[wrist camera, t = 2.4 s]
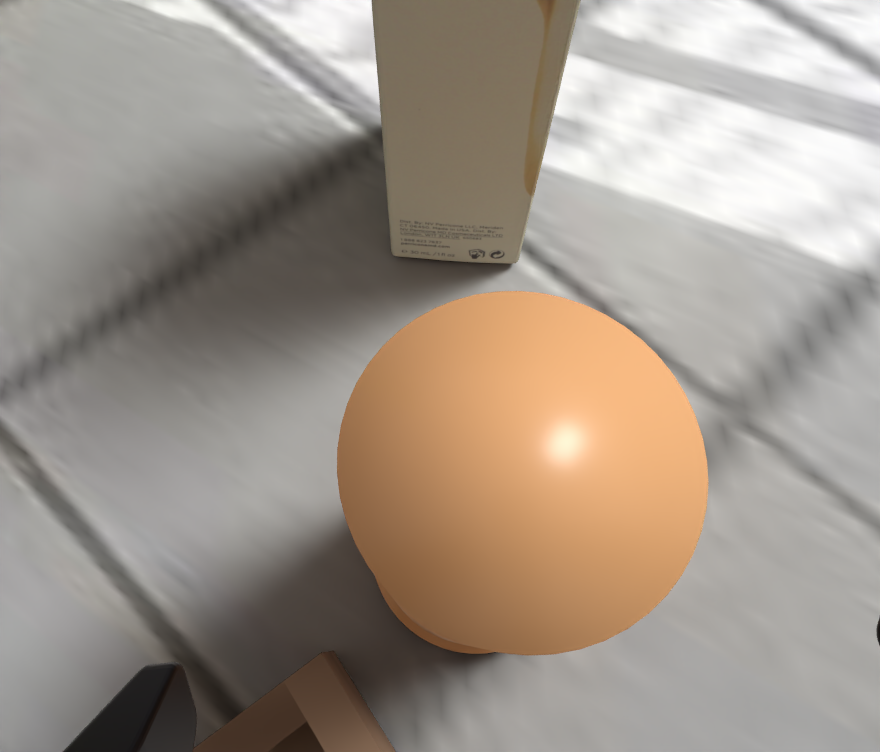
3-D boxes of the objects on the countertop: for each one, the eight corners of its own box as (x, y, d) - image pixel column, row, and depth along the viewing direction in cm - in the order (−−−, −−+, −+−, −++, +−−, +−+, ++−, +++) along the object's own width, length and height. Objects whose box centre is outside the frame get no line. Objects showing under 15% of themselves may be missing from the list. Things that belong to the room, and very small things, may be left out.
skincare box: (520, 269, 21) (632, -143, 10) (387, 260, 21) (350, -161, 10) (522, 115, 24) (614, -358, 12) (403, 108, 24) (386, -373, 12)
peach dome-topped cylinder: (608, 569, 18) (807, 499, 9) (450, 698, 17) (486, 776, 7) (488, 417, 20) (549, 220, 10) (335, 524, 18) (246, 410, 9)
